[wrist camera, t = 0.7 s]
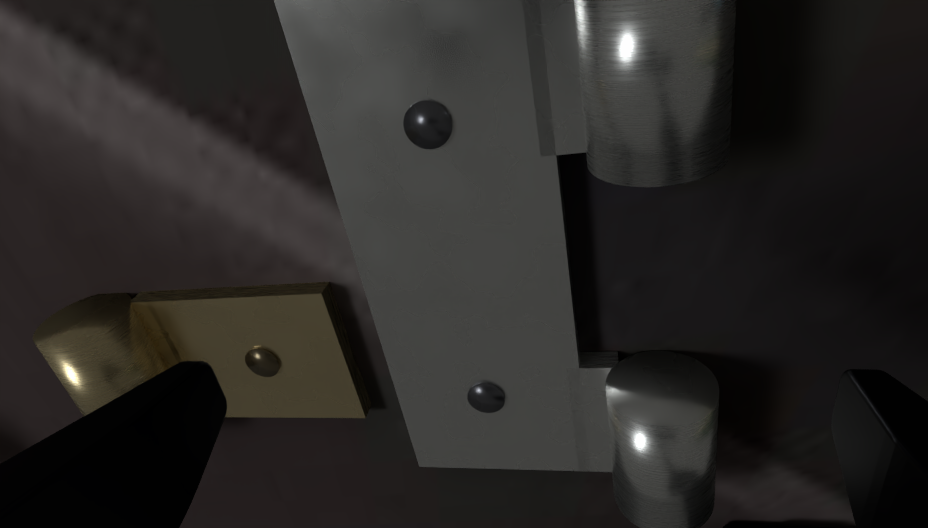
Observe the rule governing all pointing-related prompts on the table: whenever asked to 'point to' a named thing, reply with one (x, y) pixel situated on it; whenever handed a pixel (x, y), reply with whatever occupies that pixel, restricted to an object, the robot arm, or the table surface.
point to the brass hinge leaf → (212, 347)
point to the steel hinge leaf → (518, 219)
